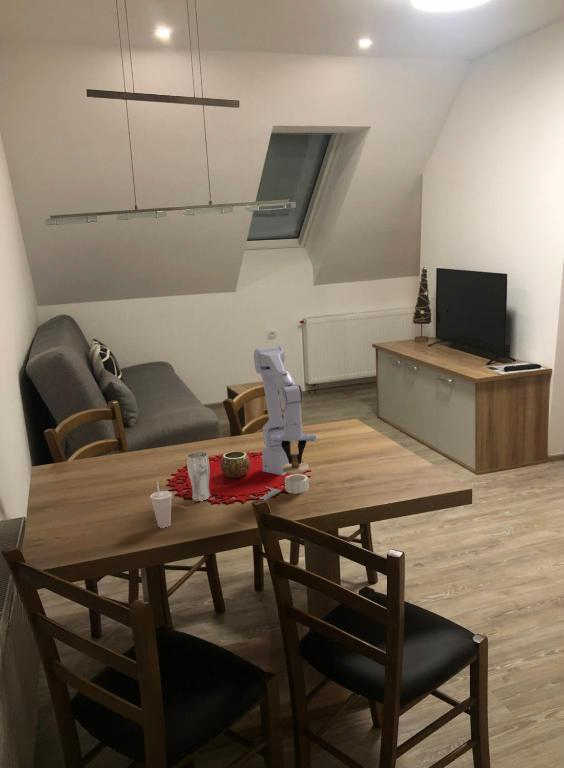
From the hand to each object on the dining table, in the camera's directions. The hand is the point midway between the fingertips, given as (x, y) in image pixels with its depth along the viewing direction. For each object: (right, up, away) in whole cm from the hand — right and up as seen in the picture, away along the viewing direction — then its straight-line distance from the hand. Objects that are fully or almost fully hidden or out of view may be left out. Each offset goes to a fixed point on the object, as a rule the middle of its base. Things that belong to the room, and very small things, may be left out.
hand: (295, 462), depth 206 cm
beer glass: (-30, -12, 0) cm, 33 cm away
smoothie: (-39, -17, -17) cm, 46 cm away
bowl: (+1, -9, +2) cm, 9 cm away
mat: (-11, -10, +1) cm, 15 cm away
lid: (0, -2, 0) cm, 2 cm away
